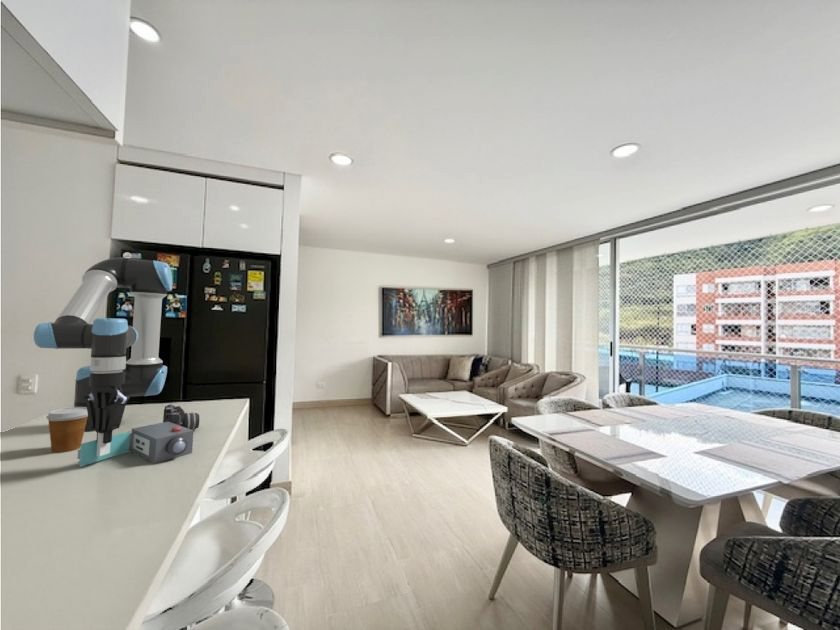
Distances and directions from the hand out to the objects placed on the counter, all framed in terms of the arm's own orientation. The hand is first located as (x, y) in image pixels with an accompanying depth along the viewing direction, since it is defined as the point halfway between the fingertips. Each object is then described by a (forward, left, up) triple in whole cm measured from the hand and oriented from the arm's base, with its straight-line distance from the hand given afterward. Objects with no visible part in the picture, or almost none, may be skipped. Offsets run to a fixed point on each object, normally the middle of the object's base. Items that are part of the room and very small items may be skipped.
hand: (103, 454), depth 96 cm
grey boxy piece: (+4, +13, -3) cm, 14 cm away
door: (-3, +2, -2) cm, 4 cm away
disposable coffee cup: (-22, -2, -3) cm, 22 cm away
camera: (-11, +25, -3) cm, 28 cm away
